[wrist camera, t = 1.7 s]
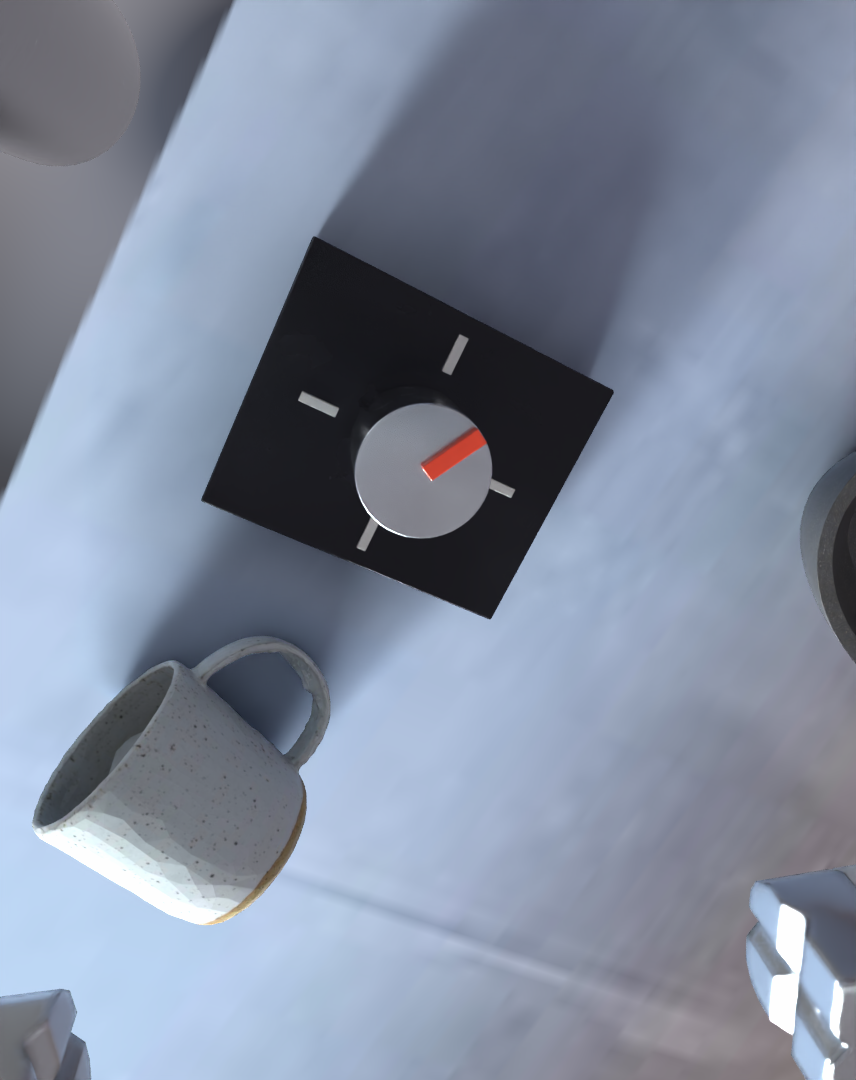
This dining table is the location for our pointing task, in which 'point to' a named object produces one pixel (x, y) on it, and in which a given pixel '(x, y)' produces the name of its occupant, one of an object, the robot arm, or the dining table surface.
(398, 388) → the silver dial knob
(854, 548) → the bowl
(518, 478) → the black dial plate
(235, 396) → the dining table surface
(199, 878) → the ceramic mug
